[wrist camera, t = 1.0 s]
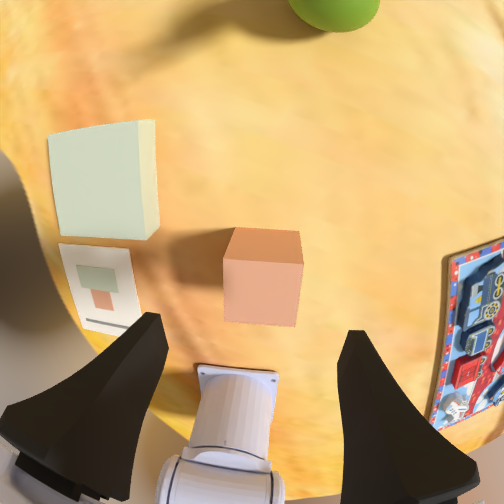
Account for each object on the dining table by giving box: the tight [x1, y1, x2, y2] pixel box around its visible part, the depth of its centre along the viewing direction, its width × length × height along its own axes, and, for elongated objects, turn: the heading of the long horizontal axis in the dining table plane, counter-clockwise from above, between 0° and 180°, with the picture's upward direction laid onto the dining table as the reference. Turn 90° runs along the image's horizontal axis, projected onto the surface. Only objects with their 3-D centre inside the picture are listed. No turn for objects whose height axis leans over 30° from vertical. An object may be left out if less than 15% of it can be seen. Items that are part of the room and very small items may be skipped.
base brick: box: [48, 119, 160, 240], centre depth 19 cm, size 8×8×3 cm
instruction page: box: [58, 243, 142, 337], centre depth 25 cm, size 10×8×1 cm
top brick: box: [223, 227, 304, 327], centre depth 20 cm, size 4×4×5 cm
